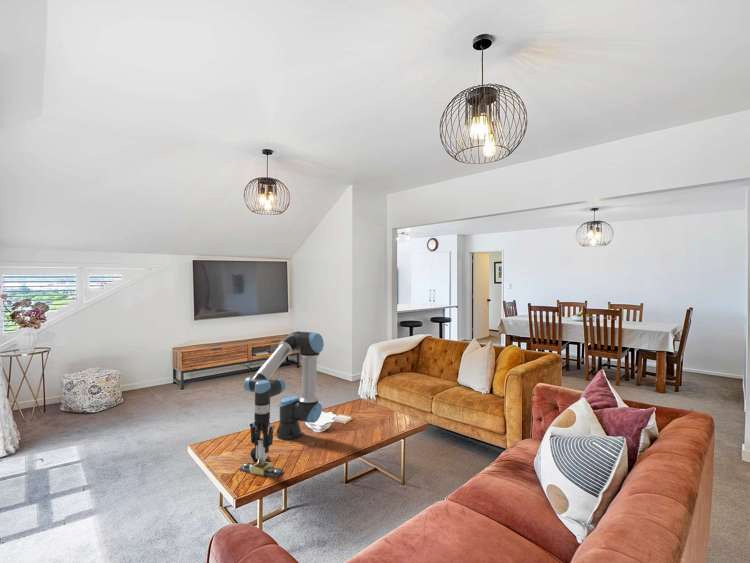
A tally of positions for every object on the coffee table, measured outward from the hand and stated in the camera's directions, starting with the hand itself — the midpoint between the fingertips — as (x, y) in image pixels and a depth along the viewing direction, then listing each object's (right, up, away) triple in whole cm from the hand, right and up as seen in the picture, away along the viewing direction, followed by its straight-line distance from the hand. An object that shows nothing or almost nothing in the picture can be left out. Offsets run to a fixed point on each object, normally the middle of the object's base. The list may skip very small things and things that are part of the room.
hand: (261, 458), depth 196 cm
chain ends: (0, -7, 0) cm, 7 cm away
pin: (0, -2, 0) cm, 2 cm away
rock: (-6, -7, +13) cm, 16 cm away
